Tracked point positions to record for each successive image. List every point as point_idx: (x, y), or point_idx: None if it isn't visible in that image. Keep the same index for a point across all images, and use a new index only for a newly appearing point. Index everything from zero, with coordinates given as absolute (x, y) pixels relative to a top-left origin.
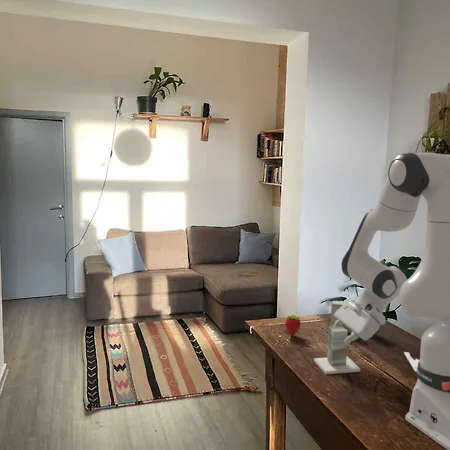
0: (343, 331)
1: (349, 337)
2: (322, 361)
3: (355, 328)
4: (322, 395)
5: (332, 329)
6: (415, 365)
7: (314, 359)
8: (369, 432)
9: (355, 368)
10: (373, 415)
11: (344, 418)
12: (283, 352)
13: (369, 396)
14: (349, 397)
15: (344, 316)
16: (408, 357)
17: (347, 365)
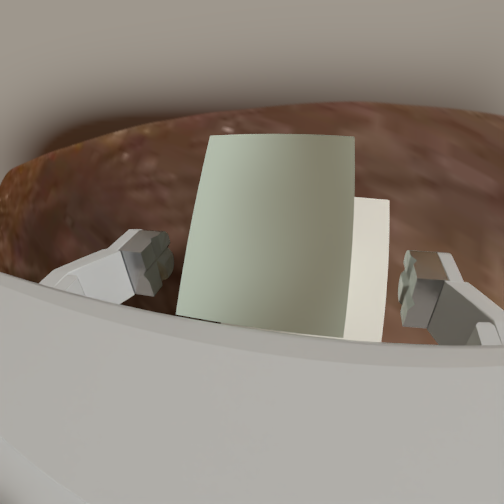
0: (186, 256)
1: (91, 257)
2: None
3: (1, 290)
4: (128, 137)
5: (272, 148)
6: None
7: (383, 201)
8: (13, 189)
9: None
10: (28, 227)
11: (49, 159)
12: (476, 127)
13: None
14: (88, 208)
15: (429, 434)
16: None
17: (266, 329)
